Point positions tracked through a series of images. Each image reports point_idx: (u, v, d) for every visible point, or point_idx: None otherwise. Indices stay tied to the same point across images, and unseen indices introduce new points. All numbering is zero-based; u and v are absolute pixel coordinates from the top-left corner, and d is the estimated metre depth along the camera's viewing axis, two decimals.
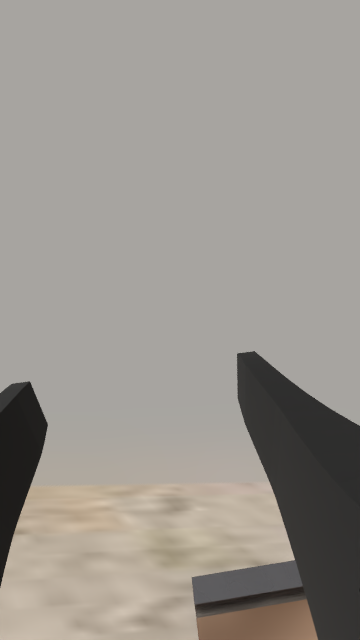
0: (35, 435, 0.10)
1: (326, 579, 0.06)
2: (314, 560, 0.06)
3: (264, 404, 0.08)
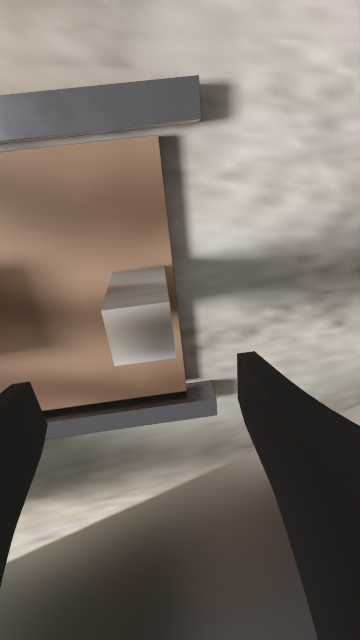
0: (35, 435, 0.10)
1: (325, 579, 0.06)
2: (314, 560, 0.06)
3: (264, 404, 0.08)
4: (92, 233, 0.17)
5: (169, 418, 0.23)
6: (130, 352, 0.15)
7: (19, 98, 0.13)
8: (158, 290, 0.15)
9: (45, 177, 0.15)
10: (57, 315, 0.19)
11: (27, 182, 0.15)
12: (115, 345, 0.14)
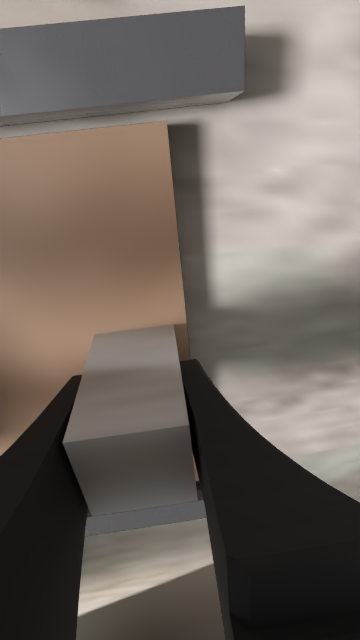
0: None
1: (222, 597, 0.06)
2: (218, 575, 0.06)
3: (190, 414, 0.08)
4: (61, 279, 0.11)
5: (178, 518, 0.16)
6: (118, 498, 0.08)
7: None
8: (167, 387, 0.09)
9: None
10: (13, 393, 0.13)
11: None
12: (92, 489, 0.08)
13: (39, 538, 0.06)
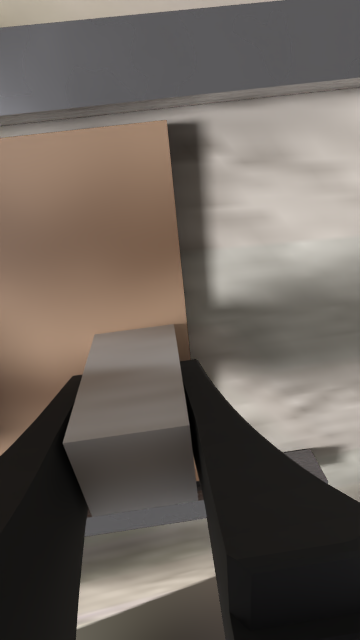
0: None
1: (222, 596, 0.06)
2: (218, 575, 0.06)
3: (191, 414, 0.08)
4: (61, 279, 0.11)
5: None
6: (119, 498, 0.08)
7: (101, 28, 0.07)
8: (168, 387, 0.09)
9: None
10: (14, 393, 0.13)
11: None
12: (92, 490, 0.08)
13: (39, 538, 0.06)
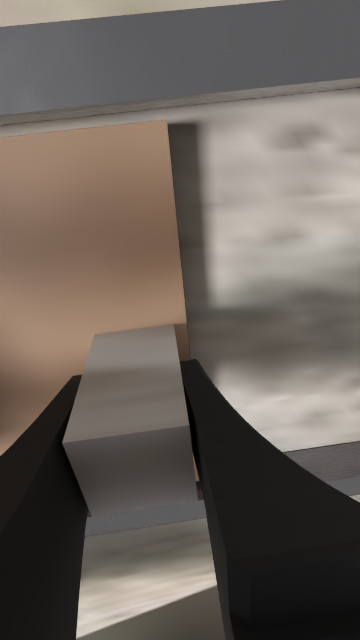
0: None
1: (222, 596, 0.06)
2: (218, 575, 0.06)
3: (190, 414, 0.08)
4: (61, 279, 0.11)
5: None
6: (118, 498, 0.08)
7: (258, 12, 0.07)
8: (167, 387, 0.09)
9: None
10: (13, 393, 0.13)
11: None
12: (92, 490, 0.08)
13: (39, 538, 0.06)
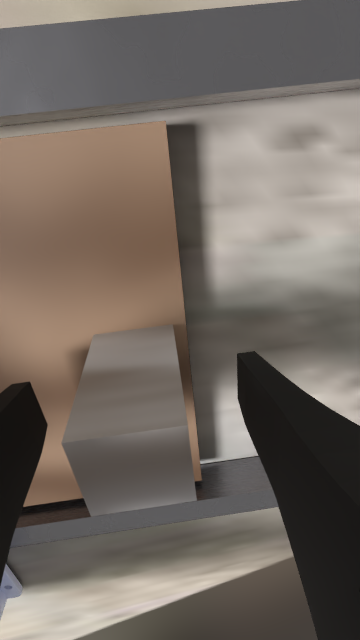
0: (35, 435, 0.10)
1: (325, 579, 0.06)
2: (314, 560, 0.06)
3: (264, 404, 0.08)
4: (60, 279, 0.11)
5: None
6: (117, 498, 0.08)
7: (258, 14, 0.07)
8: (166, 388, 0.09)
9: None
10: None
11: None
12: (91, 490, 0.08)
13: None
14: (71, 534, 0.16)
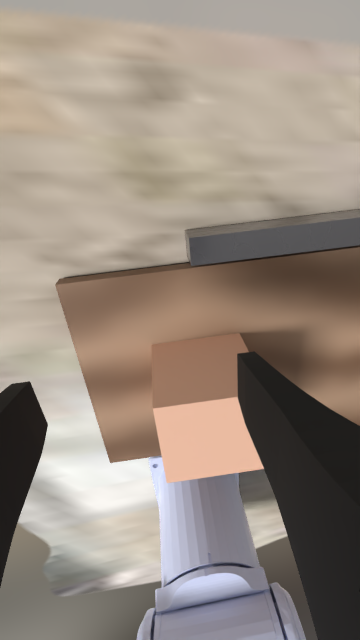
0: (35, 435, 0.10)
1: (325, 579, 0.06)
2: (314, 560, 0.06)
3: (264, 404, 0.08)
4: None
5: None
6: None
7: None
8: None
9: (352, 267, 0.20)
10: (315, 366, 0.23)
11: (337, 271, 0.20)
12: None
13: None
14: None
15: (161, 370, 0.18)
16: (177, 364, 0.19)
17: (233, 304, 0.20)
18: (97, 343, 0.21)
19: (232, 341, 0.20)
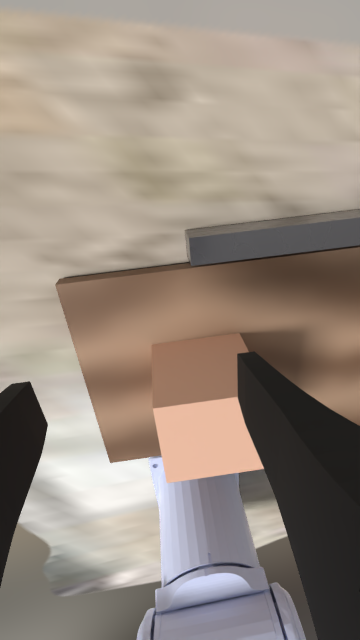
0: (35, 435, 0.10)
1: (326, 579, 0.06)
2: (314, 560, 0.06)
3: (264, 404, 0.08)
4: None
5: None
6: None
7: None
8: None
9: (352, 267, 0.20)
10: (315, 366, 0.23)
11: (337, 271, 0.20)
12: None
13: None
14: None
15: (161, 370, 0.18)
16: (177, 364, 0.19)
17: (233, 304, 0.20)
18: (97, 343, 0.21)
19: (232, 341, 0.20)
